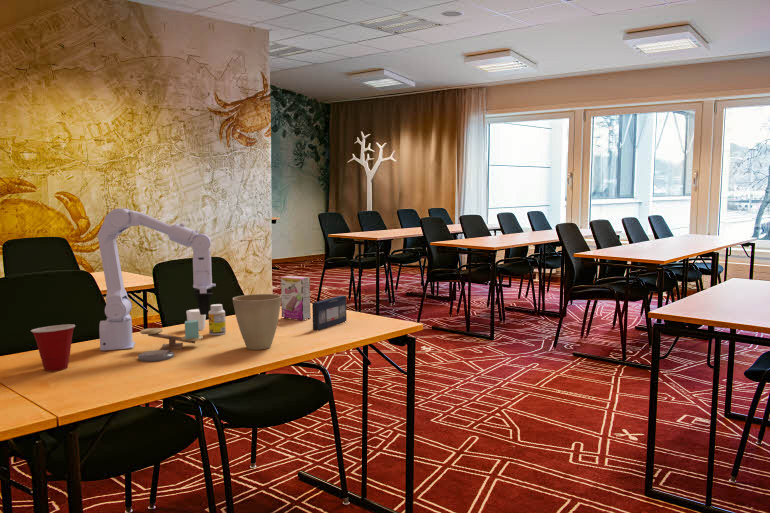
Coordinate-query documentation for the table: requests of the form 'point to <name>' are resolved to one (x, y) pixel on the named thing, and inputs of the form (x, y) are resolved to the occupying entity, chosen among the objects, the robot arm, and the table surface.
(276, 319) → the plant pot
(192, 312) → the white cup
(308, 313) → the candy bar box
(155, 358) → the dish
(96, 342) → the table surface
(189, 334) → the block
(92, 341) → the table surface
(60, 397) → the table surface
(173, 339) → the balance
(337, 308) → the vhs cassette tape
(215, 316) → the supplement bottle
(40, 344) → the plastic cup
